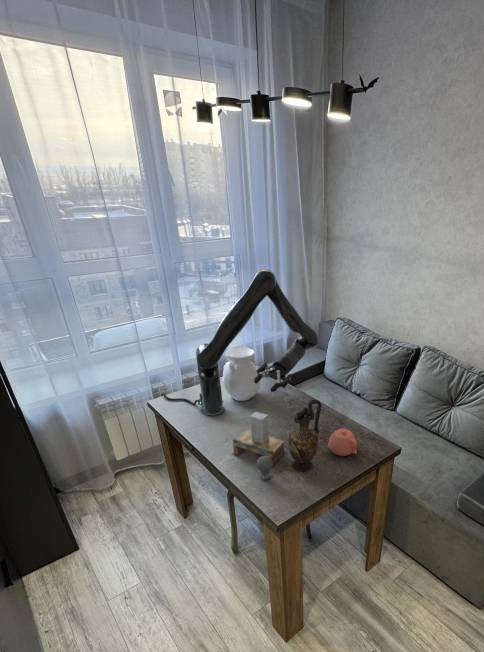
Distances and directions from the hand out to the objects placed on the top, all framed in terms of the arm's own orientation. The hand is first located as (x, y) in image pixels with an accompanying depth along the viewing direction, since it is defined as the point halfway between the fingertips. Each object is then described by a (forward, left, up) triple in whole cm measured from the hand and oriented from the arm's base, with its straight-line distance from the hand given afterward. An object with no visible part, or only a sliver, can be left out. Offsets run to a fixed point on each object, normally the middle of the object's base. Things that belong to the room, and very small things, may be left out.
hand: (263, 386), depth 162 cm
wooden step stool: (+4, -12, -25) cm, 28 cm away
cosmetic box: (+4, -11, -19) cm, 22 cm away
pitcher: (-28, +25, -25) cm, 45 cm away
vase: (+24, -11, -25) cm, 36 cm away
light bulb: (+14, -24, -25) cm, 37 cm away
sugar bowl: (+35, +5, -25) cm, 43 cm away
